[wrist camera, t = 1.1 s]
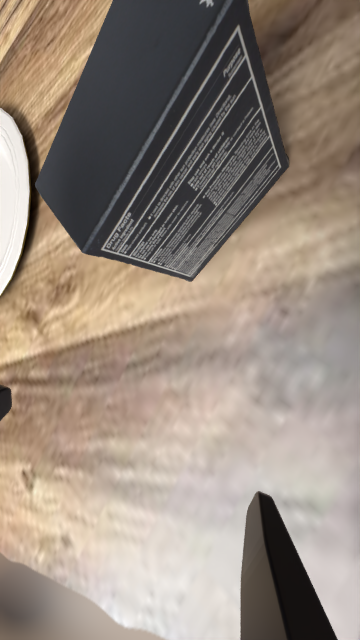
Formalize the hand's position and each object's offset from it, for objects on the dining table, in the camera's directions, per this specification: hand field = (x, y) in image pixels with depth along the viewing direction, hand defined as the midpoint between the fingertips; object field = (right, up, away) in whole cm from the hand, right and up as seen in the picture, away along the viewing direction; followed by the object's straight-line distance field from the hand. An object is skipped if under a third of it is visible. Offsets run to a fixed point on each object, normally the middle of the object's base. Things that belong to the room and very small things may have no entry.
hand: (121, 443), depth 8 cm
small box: (+4, +13, +11) cm, 18 cm away
